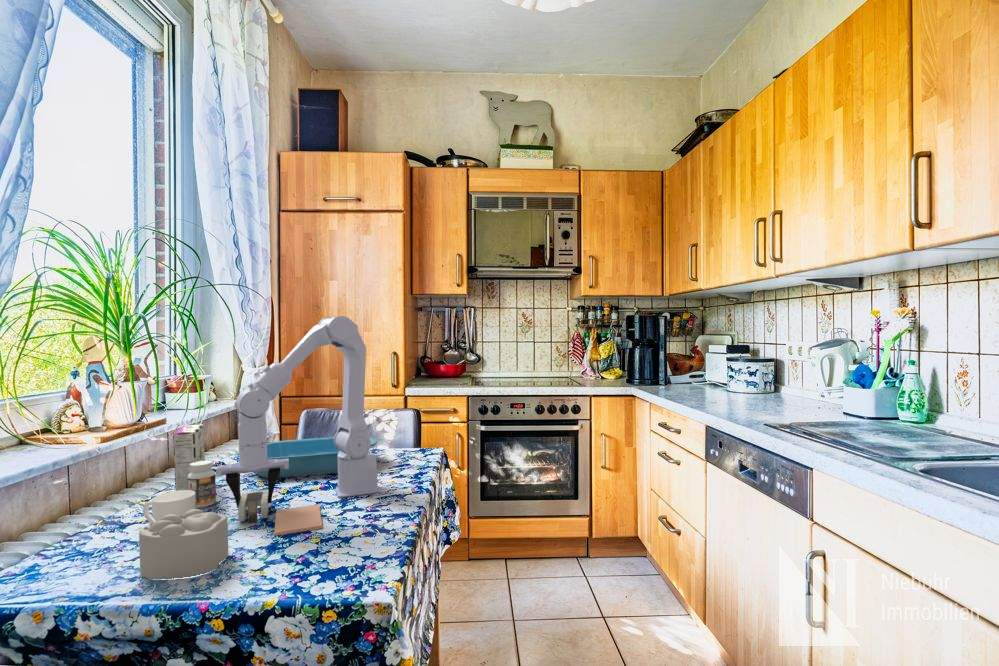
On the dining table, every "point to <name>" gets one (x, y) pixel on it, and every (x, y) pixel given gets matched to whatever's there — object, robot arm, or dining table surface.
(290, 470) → the casserole dish
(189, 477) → the pill bottle
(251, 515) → the stand
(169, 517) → the lumpy-topped squat cylinder
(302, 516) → the trivet
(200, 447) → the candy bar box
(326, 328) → the robot arm
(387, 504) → the dining table surface
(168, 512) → the cup
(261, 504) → the link
